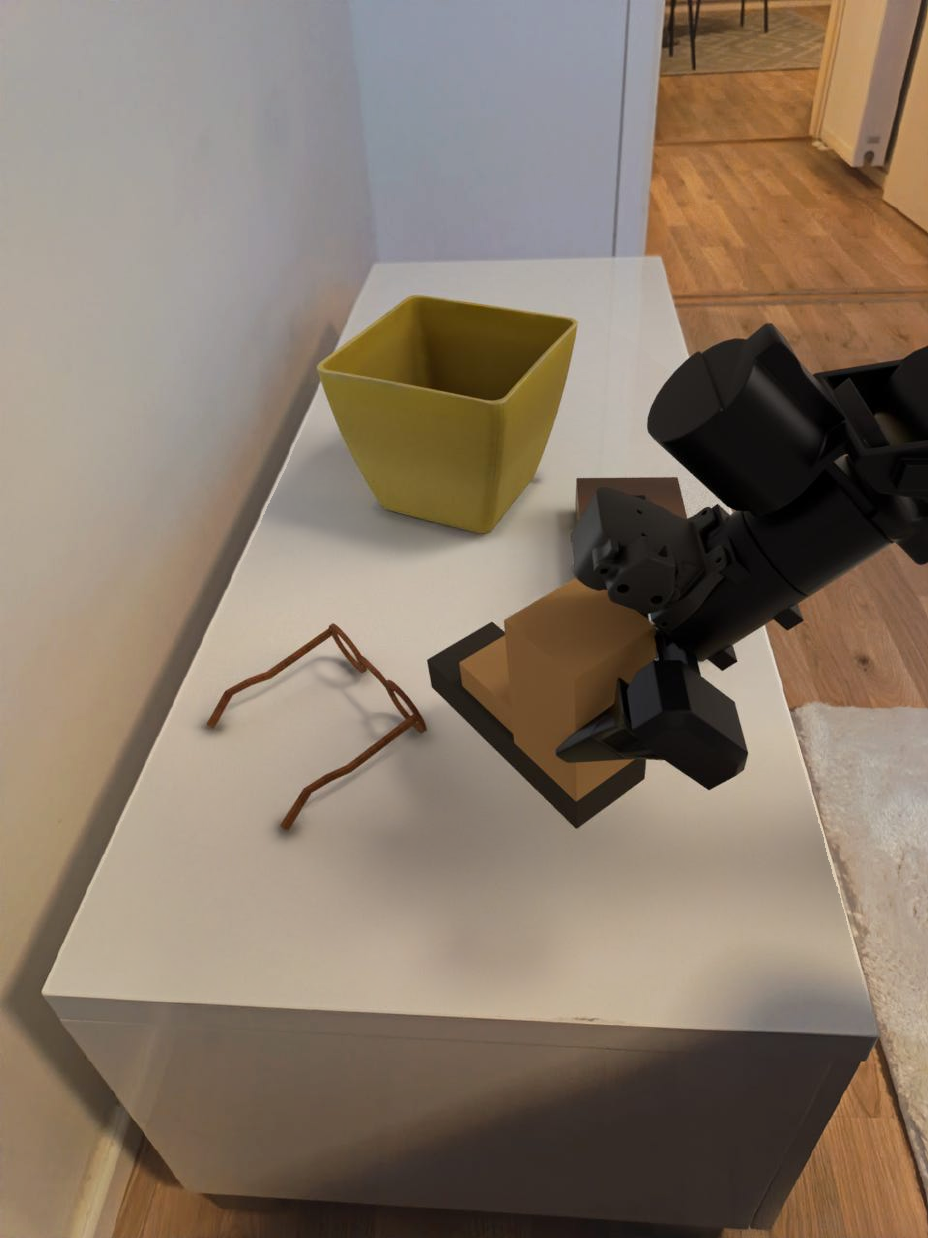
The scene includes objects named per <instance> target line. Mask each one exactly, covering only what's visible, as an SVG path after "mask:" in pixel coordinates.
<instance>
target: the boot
mask: <svg viewBox="0 0 928 1238" xmlns="http://www.w3.org/2000/svg"><path fill="white" fill-rule="evenodd" d="M503 629H504V630H503ZM503 629H502V628H501V627H500V626H498V624H496V623H495V622H493V621H490V622H488V623H487V624H484V625H483V626H482V627H480V628H478V629H476V630H475V631H473V632H471V633H470V634H468V635H466V636H465V637H463V638H461V639H459V640H458V641H456V642H455V643H453V644H451V645H450V646H448V647H446V648H444V649H443V650H441V651H439V652H437V653H436V654H433V655H432V656H431V657H428V658H427V659H426V663H427V669H428V675H429V679H430V685H431V688H432V689H433V691H435V692H436V693H437V694H438V695H439V696H440V697H441V698H442V699H443V700H444V701H445V702H446V704H448V705H449V706H450V707H451V708H452V709H453V710H454V711H455V712H456V713H457V714H458V715H459V716H460V717H461V718H463V720H464V721H465V722H466V723H467V724H468V725H470V726H471V727H472V728H473V730H475V732H477V734H478V735H479V736H481V738H483V740H485V741H486V742H487V743H488V744H489V745H490V746H491V747H492V748H493V749H494V750H495V751H496V752H497V753H498V754H499V755H500V756H501V757H502V758H503V759H504V760H505V761H506V762H507V763H508V764H509V765H510V766H511V767H512V768H513V769H514V770H515V771H516V772H517V773H518V774H519V775H520V776H521V777H522V778H523V779H524V780H525V781H526V782H527V783H529V784H530V786H532V788H534V790H536V791H537V792H538V793H539V794H540V795H541V796H542V797H543V798H544V799H545V801H547V802H548V804H550V806H551V807H553V809H555V810H556V811H557V812H558V813H559V814H560V815H561V816H562V817H563V818H564V819H565V820H566V821H567V822H568V823H569V824H570V825H571V826H572V827H573V828H574V829H575V830H578V829H579V828H581V827H582V826H584V824H586V823H587V822H588V821H590V820H592V819H593V818H594V817H596V815H598V814H599V813H601V812H602V811H604V810H605V809H606V808H608V807H609V806H610V805H612V804H613V803H614V802H616V801H617V800H618V799H619V798H621V797H623V796H624V795H625V794H627V792H629V791H631V790H632V789H634V788H635V787H637V785H639V784H640V783H641V782H643V781H644V780H645V778H646V766H647V759H630V760H611V761H594V762H578V763H567V762H564V761H563V760H561V759H560V758H558V757H557V756H556V753H555V750H556V748H557V747H559V746H560V745H561V744H562V743H563V742H564V741H565V740H566V739H567V738H568V737H569V736H571V735H572V734H573V733H575V732H576V731H577V730H579V729H580V728H582V727H583V726H584V725H586V724H587V723H588V722H590V721H591V720H592V719H594V718H595V717H596V716H598V715H599V714H601V713H602V712H603V711H605V710H606V709H607V708H609V707H610V706H611V705H612V704H613V703H614V700H615V691H616V682H617V679H618V678H619V677H620V678H621V679H623V680H624V681H626V682H627V683H628V684H630V683H631V682H632V680H633V678H634V676H635V674H636V672H637V671H638V670H640V669H641V668H643V667H644V666H646V665H647V664H649V663H650V662H652V661H653V660H655V657H656V654H655V647H656V643H655V638H654V636H655V635H656V634H657V629H655V628H654V627H653V626H652V625H651V624H650V622H649V619H647V618H646V617H644V616H643V615H641V614H640V613H639V612H637V611H636V610H634V609H631V608H628V607H625V606H622V605H619V604H616V603H613V602H611V601H610V599H609V597H608V593H607V590H601V591H597V590H594V589H591V588H589V587H587V586H585V585H583V584H582V583H581V582H580V581H579V580H578V579H577V578H576V577H574V578H573V579H570V580H569V581H568V582H566V583H564V584H562V585H561V586H559V587H557V588H556V589H554V590H552V591H551V592H549V593H547V594H546V595H544V596H542V597H541V598H539V599H537V600H536V601H534V602H532V603H531V604H529V605H527V606H525V607H524V608H521V610H518V611H517V612H515V613H514V614H512V615H510V616H508V617H507V618H505V619H504V620H503Z"/></svg>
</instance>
